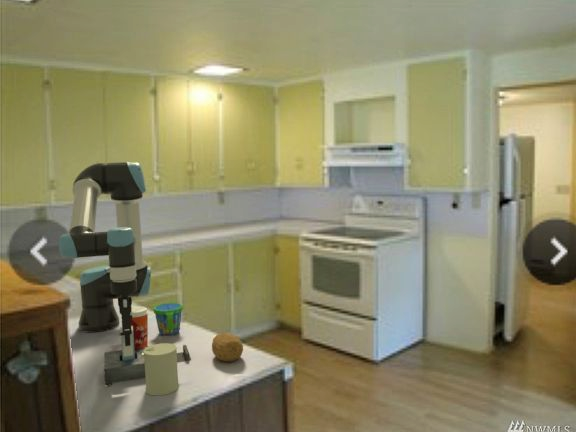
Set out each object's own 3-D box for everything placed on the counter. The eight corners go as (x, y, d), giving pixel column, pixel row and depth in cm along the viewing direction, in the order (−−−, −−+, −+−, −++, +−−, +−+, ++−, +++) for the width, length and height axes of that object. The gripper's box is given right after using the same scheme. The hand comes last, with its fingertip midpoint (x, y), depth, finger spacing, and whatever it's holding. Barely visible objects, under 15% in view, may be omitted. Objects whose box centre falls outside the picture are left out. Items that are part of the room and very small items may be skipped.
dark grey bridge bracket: (163, 356, 168) (163, 348, 167) (188, 353, 170) (187, 344, 170) (166, 365, 160) (165, 356, 160) (191, 361, 163) (191, 352, 162)
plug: (123, 371, 157) (120, 327, 155) (135, 369, 158) (132, 325, 157) (123, 375, 154) (120, 331, 152) (136, 374, 155) (133, 329, 153)
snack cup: (183, 338, 185) (182, 311, 183) (153, 341, 183) (152, 313, 181) (183, 325, 200) (182, 299, 199) (156, 327, 198) (154, 302, 197)
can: (148, 382, 149) (146, 342, 147) (180, 380, 150) (178, 340, 148) (142, 396, 140) (140, 354, 138) (176, 394, 140) (174, 352, 139)
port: (105, 367, 160) (104, 351, 160) (151, 360, 165) (150, 345, 164) (105, 385, 147) (103, 368, 146) (154, 377, 151) (153, 360, 151)
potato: (233, 349, 172) (232, 326, 171) (250, 363, 160) (249, 339, 159) (205, 355, 168) (204, 332, 167) (221, 370, 155) (220, 345, 155)
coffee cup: (143, 357, 167) (141, 313, 166) (120, 356, 169) (117, 312, 167) (155, 348, 175) (152, 306, 174) (133, 347, 177) (130, 305, 175)
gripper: (110, 272, 163) (114, 336, 165) (109, 290, 140) (115, 364, 142) (134, 269, 165) (138, 333, 168) (138, 287, 142) (142, 360, 144)
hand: (127, 347), depth 155 cm, fingers open, 13 cm apart
